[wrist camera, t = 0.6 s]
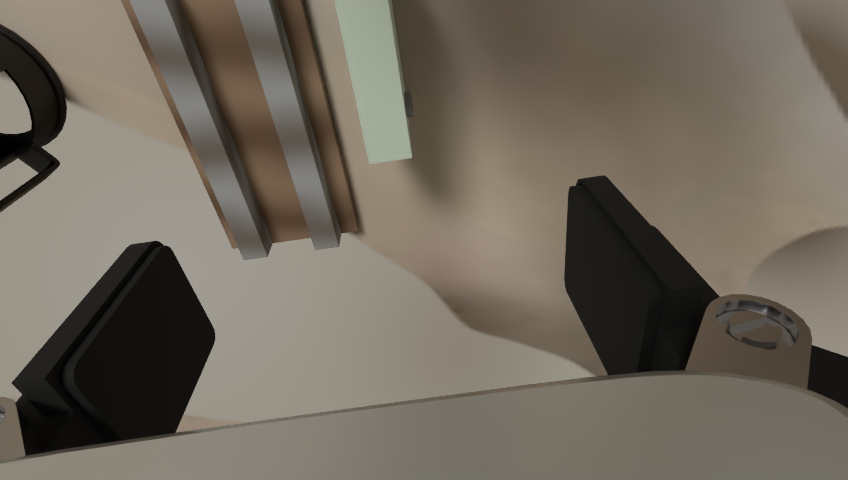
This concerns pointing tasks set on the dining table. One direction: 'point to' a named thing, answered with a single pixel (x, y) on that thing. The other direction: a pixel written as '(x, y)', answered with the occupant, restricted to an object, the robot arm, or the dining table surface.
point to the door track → (251, 116)
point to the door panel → (377, 77)
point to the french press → (31, 110)
